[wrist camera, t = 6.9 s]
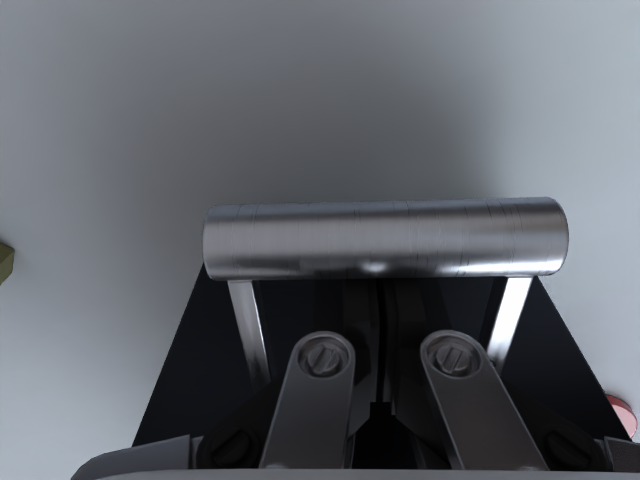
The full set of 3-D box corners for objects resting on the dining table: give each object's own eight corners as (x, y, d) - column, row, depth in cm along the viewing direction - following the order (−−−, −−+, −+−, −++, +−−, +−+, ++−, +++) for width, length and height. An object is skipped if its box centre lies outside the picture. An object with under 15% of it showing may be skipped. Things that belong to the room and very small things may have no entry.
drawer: (170, 105, 14) (0, 292, 7) (563, 90, 13) (825, 280, 6) (258, 444, 27) (230, 632, 20) (461, 444, 26) (508, 640, 19)
